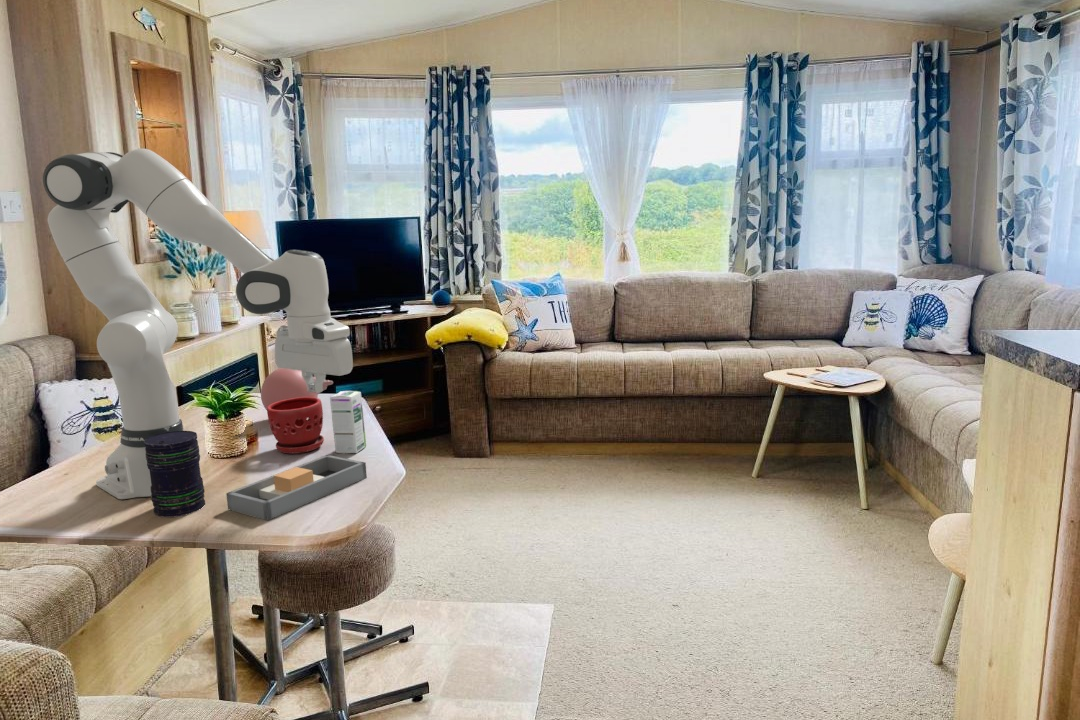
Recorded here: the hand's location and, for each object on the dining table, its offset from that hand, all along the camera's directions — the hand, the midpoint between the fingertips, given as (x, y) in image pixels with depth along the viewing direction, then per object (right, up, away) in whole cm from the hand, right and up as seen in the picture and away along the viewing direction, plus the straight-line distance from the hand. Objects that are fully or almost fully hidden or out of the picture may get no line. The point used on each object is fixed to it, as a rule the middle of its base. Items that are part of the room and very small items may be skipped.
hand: (315, 391), depth 168 cm
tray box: (-3, -21, -1) cm, 22 cm away
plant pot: (-13, -16, +30) cm, 36 cm away
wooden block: (-3, -20, -3) cm, 20 cm away
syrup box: (+1, -16, +27) cm, 31 cm away
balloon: (-21, -10, +58) cm, 62 cm away
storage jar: (-26, -24, -7) cm, 36 cm away
